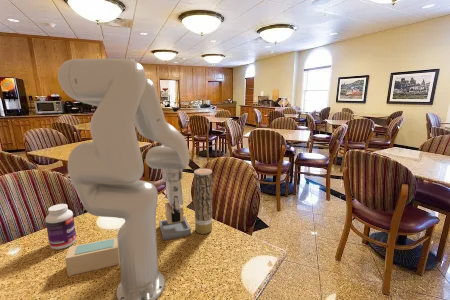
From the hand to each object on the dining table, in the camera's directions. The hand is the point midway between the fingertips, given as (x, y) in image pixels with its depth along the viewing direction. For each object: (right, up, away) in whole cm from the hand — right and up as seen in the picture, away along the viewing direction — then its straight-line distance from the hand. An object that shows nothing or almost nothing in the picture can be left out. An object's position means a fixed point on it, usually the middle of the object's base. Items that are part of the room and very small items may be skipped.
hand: (174, 217), depth 92 cm
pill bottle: (-38, -7, -8) cm, 40 cm away
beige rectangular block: (-21, -10, -18) cm, 30 cm away
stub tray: (0, -6, +1) cm, 6 cm away
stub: (0, -1, 0) cm, 1 cm away
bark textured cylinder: (+12, -6, +1) cm, 13 cm away
